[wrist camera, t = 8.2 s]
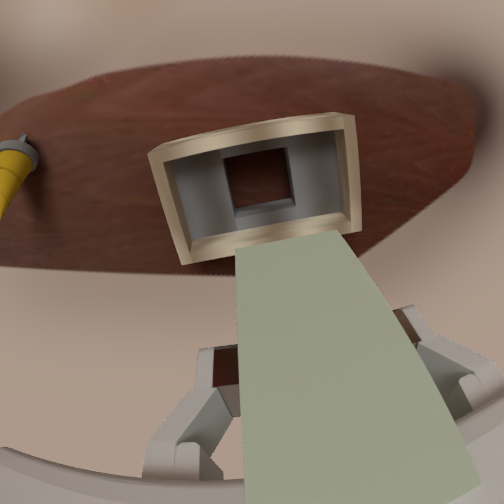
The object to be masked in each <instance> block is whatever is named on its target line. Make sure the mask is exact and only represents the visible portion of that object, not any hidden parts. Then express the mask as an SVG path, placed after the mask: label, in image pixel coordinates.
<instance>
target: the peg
mask: <svg viewBox="0 0 504 504" xmlns="http://www.w3.org/2000/svg"><path fill="white" fill-rule="evenodd" d="M235 272H236V306H237V337H238V364H239V388H240V411H241V430H242V449H243V450H242V451H243V469H244V485H245V501H246V504H447V503H449V502H451V501H453V500H455V499H457V498H458V497H460V496H462V495H464V494H466V493H467V492H469V491H471V490H472V489H474V488H476V487H477V486H479V485H480V484H482V483H481V480H480V478H479V475H478V473H477V471H476V468H475V466H474V463H473V461H472V459H471V456H470V454H469V452H468V450H467V447H466V445H465V443H464V441H463V439H462V436H461V434H460V432H459V430H458V428H457V426H456V424H455V422H454V420H453V418H452V416H451V414H450V412H449V410H448V408H447V406H446V404H445V402H444V400H443V398H442V396H441V394H440V392H439V390H438V388H437V386H436V385H435V383H434V381H433V379H432V377H431V375H430V374H429V372H428V370H427V368H426V366H425V365H424V363H423V361H422V359H421V358H420V356H419V354H418V352H417V351H416V349H415V347H414V346H413V344H412V342H411V340H410V339H409V337H408V335H407V334H406V332H405V331H404V329H403V327H402V326H401V324H400V322H399V321H398V319H397V318H396V316H395V314H394V313H393V311H392V310H391V308H390V306H389V305H388V303H387V302H386V300H385V299H384V297H383V296H382V294H381V293H380V291H379V289H378V288H377V286H376V285H375V283H374V282H373V280H372V279H371V277H370V276H369V274H368V273H367V272H366V270H365V269H364V267H363V266H362V264H361V263H360V261H359V260H358V258H357V257H356V256H355V254H354V253H353V251H352V250H351V248H350V247H349V246H348V244H347V243H346V241H345V240H344V239H343V237H342V236H341V235H340V233H339V232H338V230H332V231H327V232H321V233H316V234H311V235H305V236H300V237H295V238H289V239H284V240H279V241H274V242H268V243H263V244H258V245H253V246H247V247H242V248H237V249H235Z"/></svg>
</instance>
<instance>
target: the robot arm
mask: <svg viewBox="0 0 504 504" xmlns="http://www.w3.org/2000/svg"><path fill="white" fill-rule="evenodd" d="M392 311H393V313H394V314H395V316H396V318H397V319H398V321H399V322H400V324H401V326H402V327H403V329H404V331H405V332H406V334H407V335H408V337H409V339H410V340H411V342H412V344H413V346H414V347H415V349H416V351H417V352H418V354H419V356H420V358H421V359H422V361H423V363H424V365H425V366H426V368H427V370H428V372H429V374H430V375H431V377H432V379H433V381H434V383H435V385H436V386H437V388H438V390H439V392H440V394H441V396H442V398H443V400H444V402H445V404H446V406H447V408H448V410H449V412H450V414H451V416H452V418H453V420H454V422H455V424H456V426H457V428H458V430H459V432H460V434H461V436H462V439H463V441H464V443H465V445H466V447H467V450H468V452H469V454H470V456H471V459H472V461H473V463H474V466H475V468H476V471H477V473H478V475H479V478H480V480H481V483H482V484H480V485H479V486H477V487H476V488H474V489H472V490H471V491H469V492H467V493H466V494H464V495H462V496H460V497H458V498H457V499H455V500H453V501H451V502H449V503H447V504H504V376H503V374H502V373H501V371H500V370H499V368H498V367H497V366H496V364H495V362H494V361H493V360H491V359H489V358H487V357H485V356H483V355H481V354H479V353H476V352H474V351H472V350H470V349H468V348H466V347H464V346H461V345H460V344H458V343H455V342H453V341H451V340H449V339H447V338H445V337H443V336H441V335H437V336H435V334H434V333H433V331H432V330H431V328H430V327H429V326H428V324H427V323H426V321H425V320H424V318H423V317H422V316H421V314H420V313H419V311H418V310H417V309H416V307H415V306H414V305H409V306H405V307H402V308H400V309H396V310H392ZM240 416H241V411H240V388H239V364H238V344H235V345H228V346H219V347H214V348H204V349H200V350H199V352H198V357H197V367H196V378H195V390H190V391H189V392H188V393H187V395H186V396H185V397H184V398H183V399H182V401H181V402H180V403H179V404H178V405H177V406H176V408H175V409H174V410H173V411H172V412H171V414H170V415H169V416H168V417H167V418H166V420H165V421H164V422H163V423H162V424H161V425H160V426H159V428H158V429H157V430H156V431H155V432H154V433H153V435H152V436H151V437H150V438H149V439H148V440H147V445H146V451H145V458H144V465H143V472H142V478H137V477H127V476H120V475H113V474H107V473H101V472H95V471H90V470H85V469H80V468H75V467H71V466H67V465H63V464H59V463H55V462H51V461H48V460H44V459H41V458H38V457H34V456H31V455H28V454H25V453H22V452H20V451H17V450H14V449H12V448H8V447H1V448H0V504H246V501H245V485H244V479H231V480H224V479H223V471H222V470H221V469H220V468H219V467H218V466H217V465H216V464H215V462H214V461H213V460H212V459H211V458H210V457H211V455H212V453H213V452H214V450H215V448H216V447H217V445H218V443H219V442H220V440H221V438H222V436H223V435H224V433H225V431H226V430H227V428H228V427H229V425H230V423H231V421H232V420H233V417H240Z"/></svg>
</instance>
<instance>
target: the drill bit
mask: <svg viewBox="0 0 504 504" xmlns="http://www.w3.org/2000/svg"><path fill="white" fill-rule="evenodd" d="M38 160H39V155H38V153H37V151H36V150H35V149H34V148H33V147H32V146H30V145H29V144H27V134H25V133H24V134H22V135H21V136H20V138H19V140H18V141H17V140H6V141H3V142H1V143H0V220H1V218H2V216H3V214H4V213H5V211H6V209H7V207H8V206H9V204H10V202H11V201H12V199H13V197H14V196H15V194H16V192H17V191H18V189H19V188H20V186H21V185H22V183H23V182H24V180H25V179H26V177H27V176H28V174H29V173H31V172H33V171H34V170H35V169H36V167H37V163H38Z"/></svg>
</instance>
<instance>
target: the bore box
mask: <svg viewBox="0 0 504 504" xmlns="http://www.w3.org/2000/svg"><path fill="white" fill-rule="evenodd" d="M282 147H283V149H284V155H285V161H286V168H287V174H288V181H289V188H290V195H291V198H288V199H282V200H277V201H271V202H266V203H261V204H255V205H250V206H245V207H240V208H235V207H234V202H233V198H232V193H231V189H230V184H229V180H228V175H227V171H226V166H225V162H224V158H228V157H233V156H237V155H243V154H248V153H253V152H258V151H264V150H270V149H276V148H282ZM147 154H148V158H149V162H150V165H151V169H152V172H153V176H154V179H155V183H156V186H157V190H158V193H159V196H160V200H161V203H162V206H163V209H164V213H165V216H166V219H167V222H168V225H169V228H170V231H171V235H172V238H173V241H174V244H175V247H176V250H177V253H178V256H179V258H180V261H181V264H182V265H186V264H191V263H196V262H201V261H207V260H212V259H217V258H222V257H227V256H233V255H235V249H237V248H242V247H247V246H253V245H258V244H263V243H268V242H274V241H279V240H284V239H289V238H295V237H300V236H305V235H311V234H316V233H321V232H327V231H332V230H338V232H339V233H340V235H342V234H347V233H353V232H358V231H362V214H361V189H360V172H359V158H358V146H357V136H356V126H355V117H354V116H353V115H348V114H342V113H336V112H330V113H320V114H311V115H303V116H295V117H288V118H281V119H274V120H268V121H262V122H256V123H251V124H245V125H240V126H235V127H230V128H225V129H220V130H216V131H211V132H207V133H202V134H198V135H194V136H190V137H186V138H182V139H178V140H174V141H171V142H167V143H163V144H161V145H159V146H158V147H156V148H155V149H153V150H152V151H150V152H149V153H147Z"/></svg>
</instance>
